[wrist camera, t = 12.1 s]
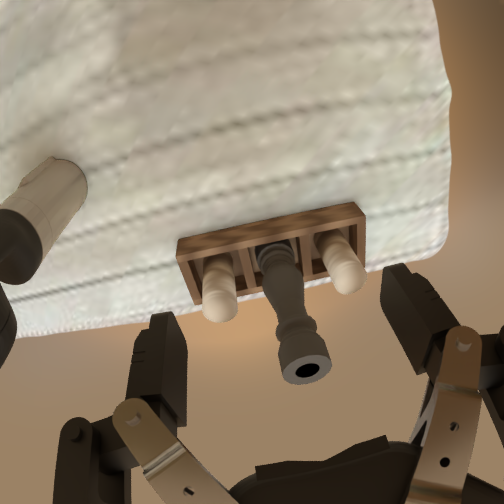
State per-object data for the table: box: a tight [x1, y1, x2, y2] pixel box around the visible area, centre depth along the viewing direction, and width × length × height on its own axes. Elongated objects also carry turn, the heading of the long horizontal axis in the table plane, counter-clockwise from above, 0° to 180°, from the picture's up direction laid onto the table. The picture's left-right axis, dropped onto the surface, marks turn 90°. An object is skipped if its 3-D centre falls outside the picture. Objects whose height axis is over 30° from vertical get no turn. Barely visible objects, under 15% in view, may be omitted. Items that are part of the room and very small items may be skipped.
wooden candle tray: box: [176, 202, 367, 323], centre depth 50 cm, size 30×10×13 cm, turn 100°
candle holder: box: [255, 239, 332, 385], centre depth 45 cm, size 6×6×25 cm
